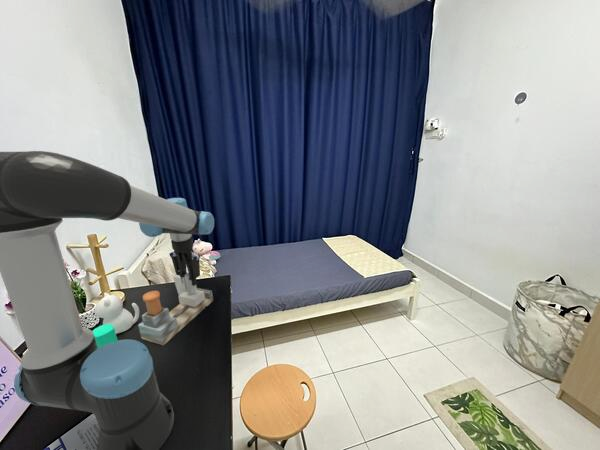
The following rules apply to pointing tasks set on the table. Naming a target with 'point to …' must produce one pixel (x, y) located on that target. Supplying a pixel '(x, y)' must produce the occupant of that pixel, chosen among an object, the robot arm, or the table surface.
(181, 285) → the white cup
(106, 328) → the candle
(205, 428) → the table surface
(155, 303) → the plunger
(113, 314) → the cat figurine
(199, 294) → the carriage
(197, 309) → the rail board
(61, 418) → the table surface
